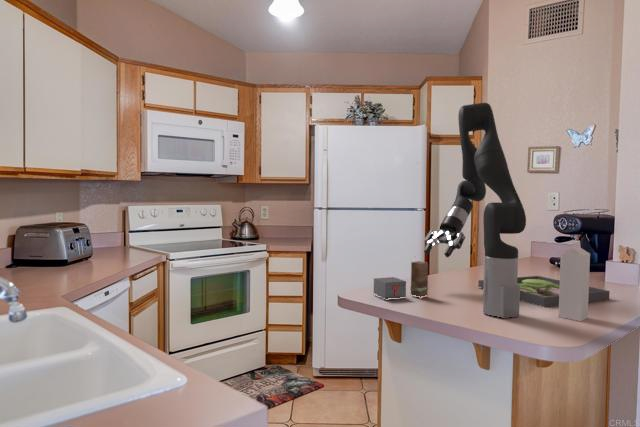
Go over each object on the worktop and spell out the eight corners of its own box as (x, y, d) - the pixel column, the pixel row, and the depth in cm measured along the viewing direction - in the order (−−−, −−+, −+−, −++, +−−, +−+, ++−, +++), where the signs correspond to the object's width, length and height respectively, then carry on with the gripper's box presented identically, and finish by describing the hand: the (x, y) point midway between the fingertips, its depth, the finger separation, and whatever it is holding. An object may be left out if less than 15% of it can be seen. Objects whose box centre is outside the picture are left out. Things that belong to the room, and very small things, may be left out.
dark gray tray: (609, 299, 153) (609, 291, 153) (543, 306, 142) (544, 297, 142) (537, 283, 181) (537, 275, 181) (478, 288, 170) (478, 280, 170)
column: (427, 297, 154) (428, 262, 153) (420, 298, 151) (421, 263, 151) (417, 295, 157) (418, 261, 157) (410, 296, 154) (411, 262, 154)
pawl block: (406, 299, 151) (406, 281, 150) (385, 300, 148) (385, 282, 148) (393, 293, 158) (393, 277, 158) (373, 295, 156) (373, 278, 155)
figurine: (522, 303, 148) (523, 286, 148) (498, 286, 175) (498, 272, 175) (580, 305, 147) (581, 288, 146) (547, 287, 173) (547, 273, 173)
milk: (587, 318, 130) (591, 242, 129) (580, 321, 126) (584, 244, 125) (565, 313, 134) (568, 240, 133) (557, 317, 130) (561, 242, 129)
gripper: (434, 213, 170) (415, 245, 163) (467, 215, 160) (449, 249, 153) (441, 227, 174) (423, 258, 167) (475, 229, 163) (457, 263, 156)
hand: (435, 254), depth 160 cm, fingers open, 8 cm apart
